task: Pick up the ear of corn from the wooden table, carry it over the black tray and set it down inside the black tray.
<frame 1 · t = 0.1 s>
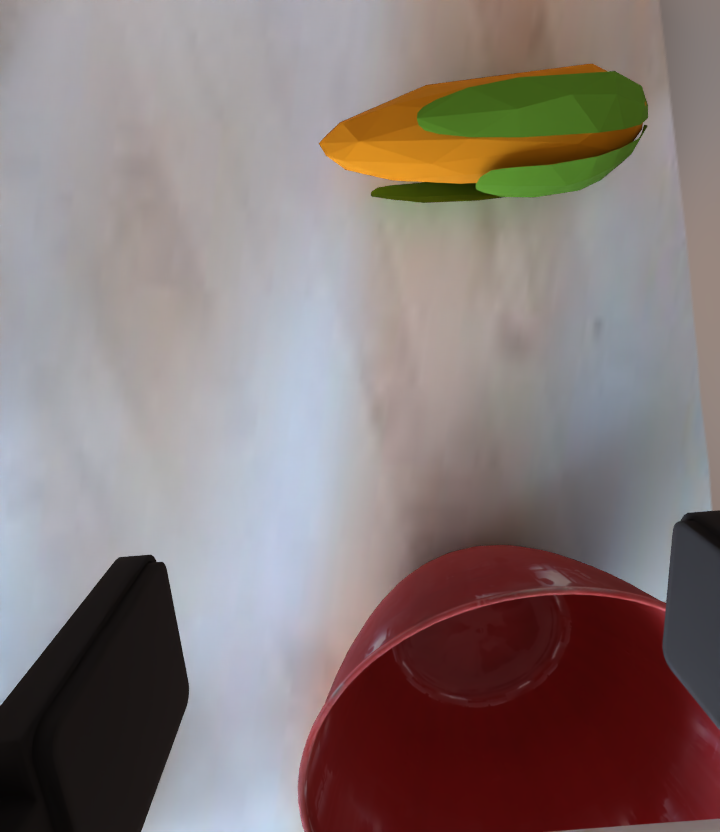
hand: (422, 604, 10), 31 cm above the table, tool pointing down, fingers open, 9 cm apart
mixing bowl: (476, 627, 47), on the table
corn: (468, 152, 37), on the table
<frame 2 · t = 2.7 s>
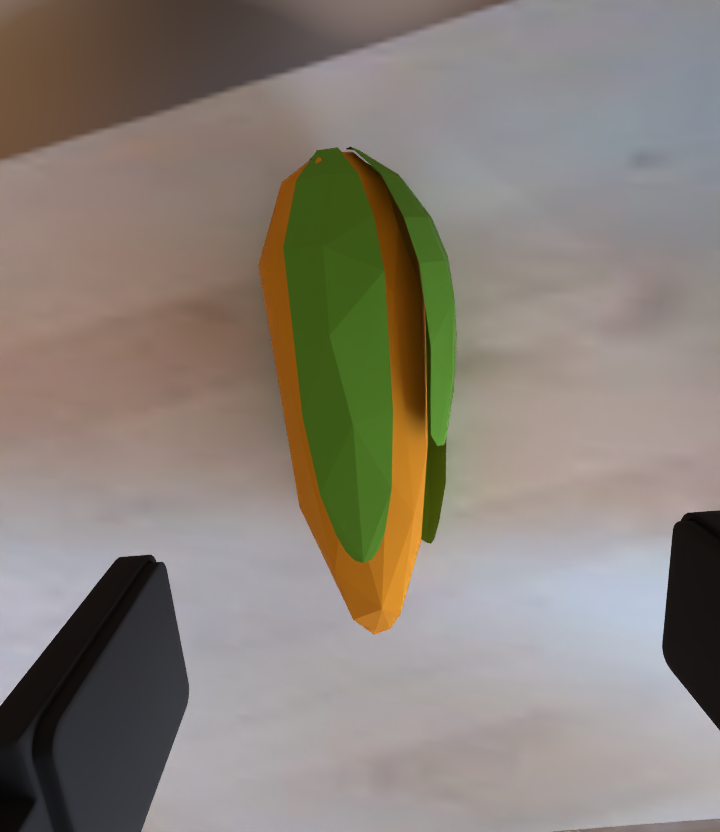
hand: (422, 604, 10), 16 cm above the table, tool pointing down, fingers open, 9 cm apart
corn: (364, 398, 25), on the table
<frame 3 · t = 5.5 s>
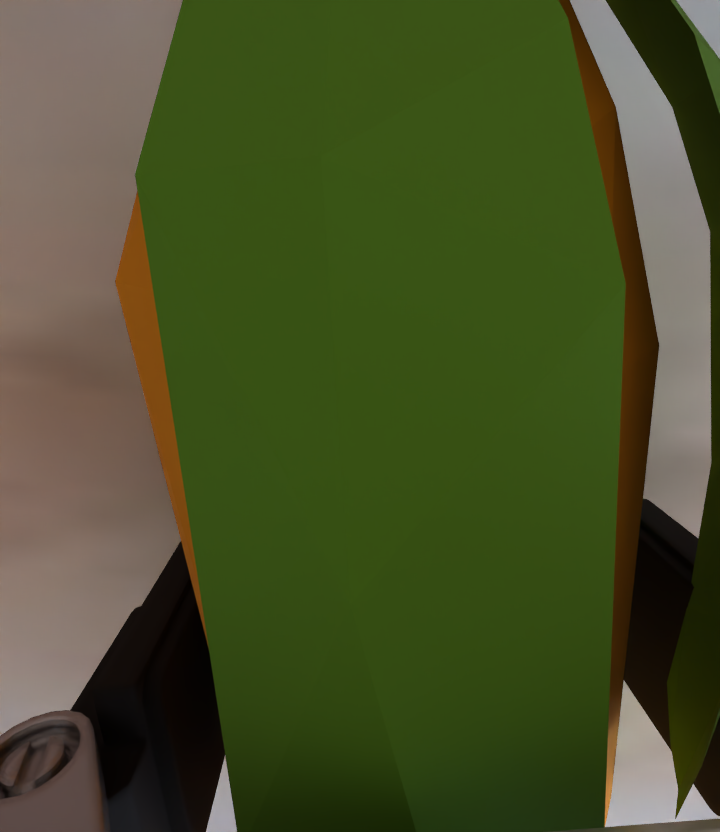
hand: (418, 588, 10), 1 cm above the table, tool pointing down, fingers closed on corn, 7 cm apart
corn: (415, 546, 12), on the table, touching gripper
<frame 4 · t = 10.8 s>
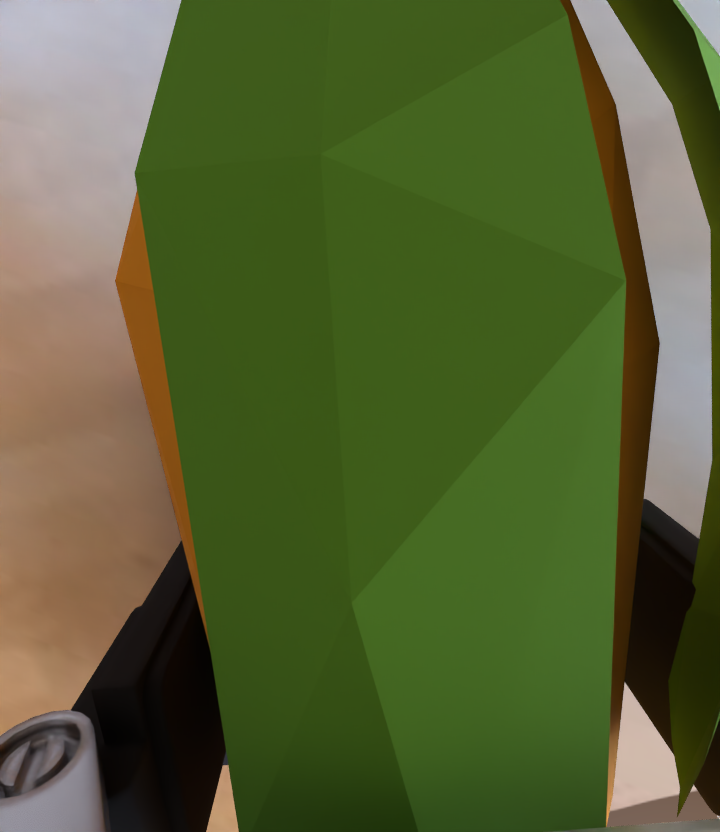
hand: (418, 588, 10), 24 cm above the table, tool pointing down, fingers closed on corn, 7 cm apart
corn: (415, 545, 12), point 22 cm above the table, touching gripper
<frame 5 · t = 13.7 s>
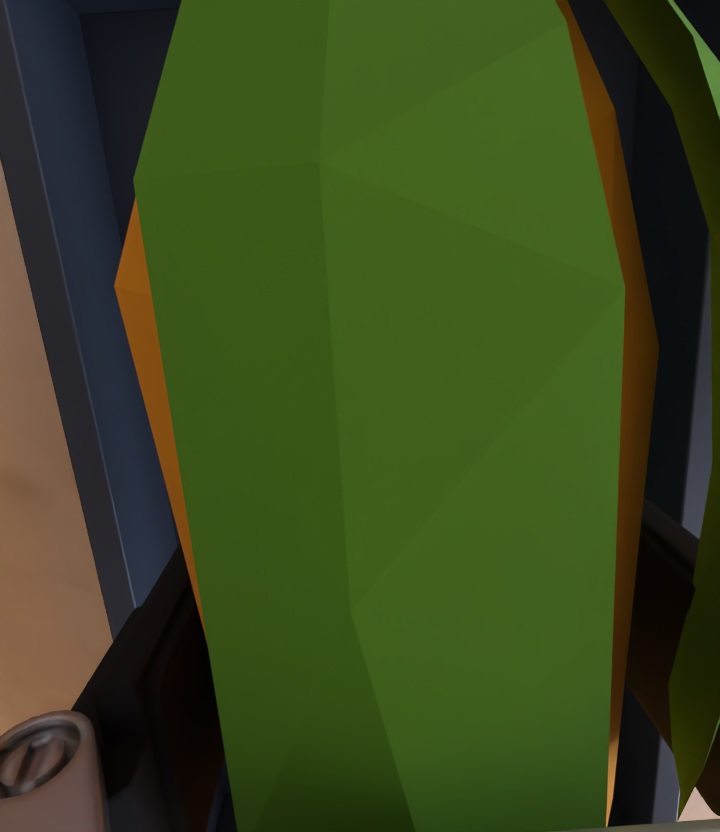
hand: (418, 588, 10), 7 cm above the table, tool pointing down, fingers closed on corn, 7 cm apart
black tray: (389, 459, 17), on the table
corn: (415, 547, 12), point 6 cm above the table, touching gripper
when the fingers open (2 cm above the table, at t = 15.9 s): corn stays where it is, resting on black tray.
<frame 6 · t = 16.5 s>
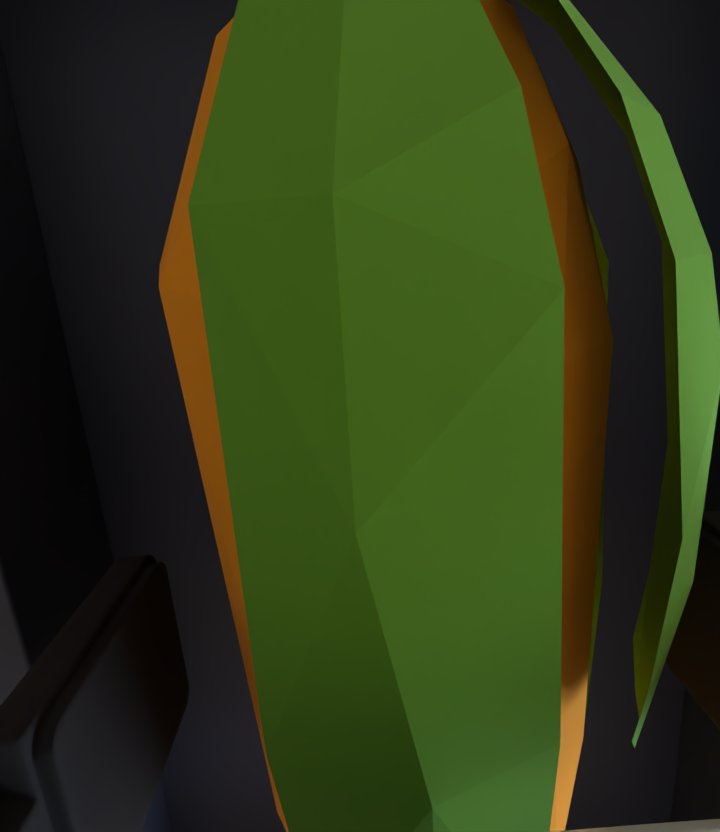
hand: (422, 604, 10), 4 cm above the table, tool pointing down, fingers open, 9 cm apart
black tray: (405, 522, 13), on the table
corn: (412, 528, 13), resting on black tray
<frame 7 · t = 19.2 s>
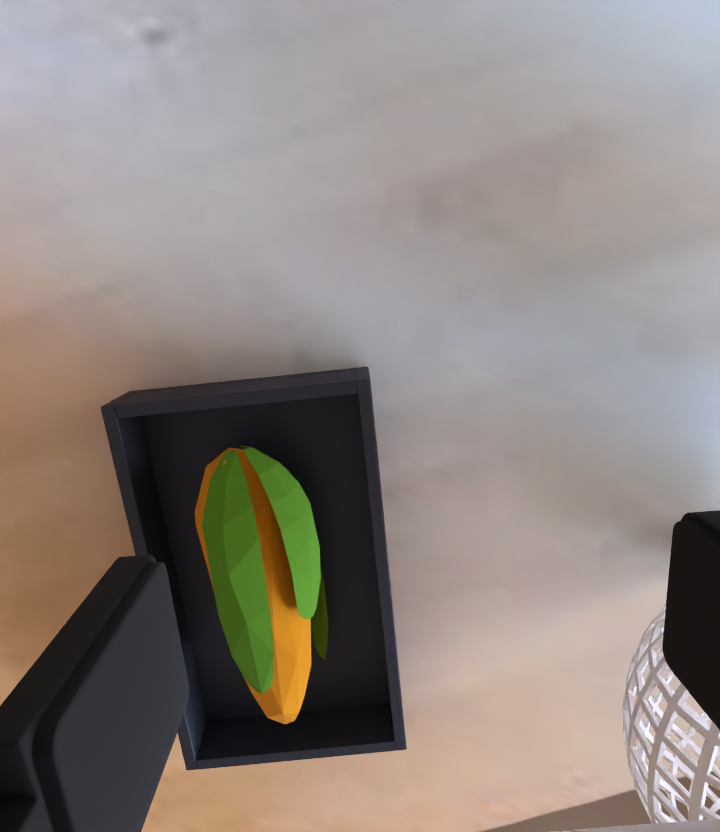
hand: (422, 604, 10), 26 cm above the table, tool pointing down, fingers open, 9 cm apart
black tray: (277, 561, 38), on the table
corn: (278, 564, 38), resting on black tray
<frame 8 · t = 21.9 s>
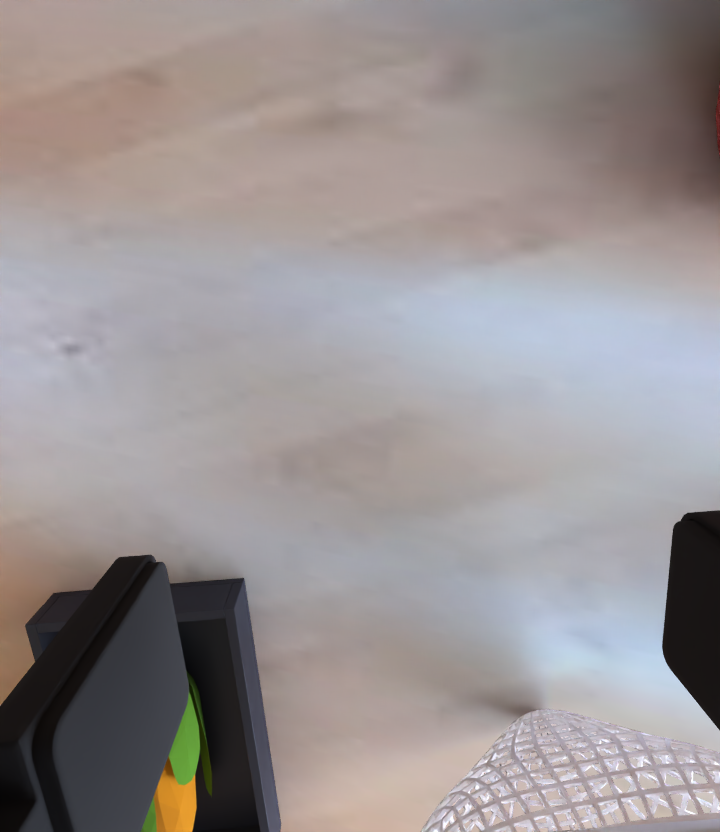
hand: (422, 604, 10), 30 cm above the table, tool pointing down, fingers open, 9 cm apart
black tray: (176, 717, 47), on the table
heart: (535, 714, 48), on the table
corn: (175, 720, 47), resting on black tray
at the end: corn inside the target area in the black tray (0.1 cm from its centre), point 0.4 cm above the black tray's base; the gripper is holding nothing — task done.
